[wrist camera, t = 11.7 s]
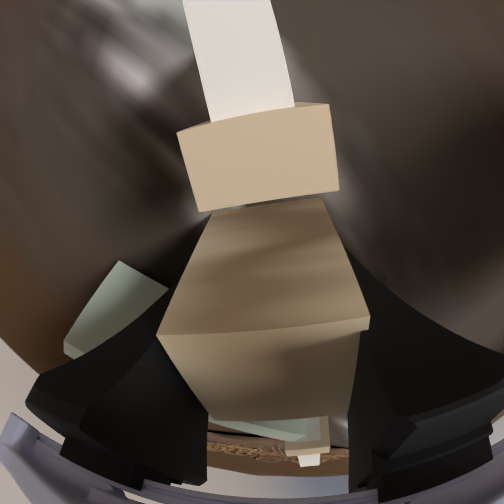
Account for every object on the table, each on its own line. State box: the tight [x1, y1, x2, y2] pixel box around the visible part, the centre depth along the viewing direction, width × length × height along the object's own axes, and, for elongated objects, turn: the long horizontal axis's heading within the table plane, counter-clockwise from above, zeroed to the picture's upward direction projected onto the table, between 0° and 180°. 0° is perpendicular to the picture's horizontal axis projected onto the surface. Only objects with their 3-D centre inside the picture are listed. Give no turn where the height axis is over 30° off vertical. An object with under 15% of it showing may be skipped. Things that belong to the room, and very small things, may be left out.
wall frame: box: [177, 0, 339, 467], centre depth 9 cm, size 2×21×6 cm, turn 11°
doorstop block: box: [156, 197, 370, 421], centre depth 8 cm, size 4×4×6 cm
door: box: [64, 261, 306, 442], centre depth 11 cm, size 2×10×5 cm, turn 58°
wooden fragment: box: [207, 432, 349, 463], centre depth 24 cm, size 26×11×1 cm, turn 63°
